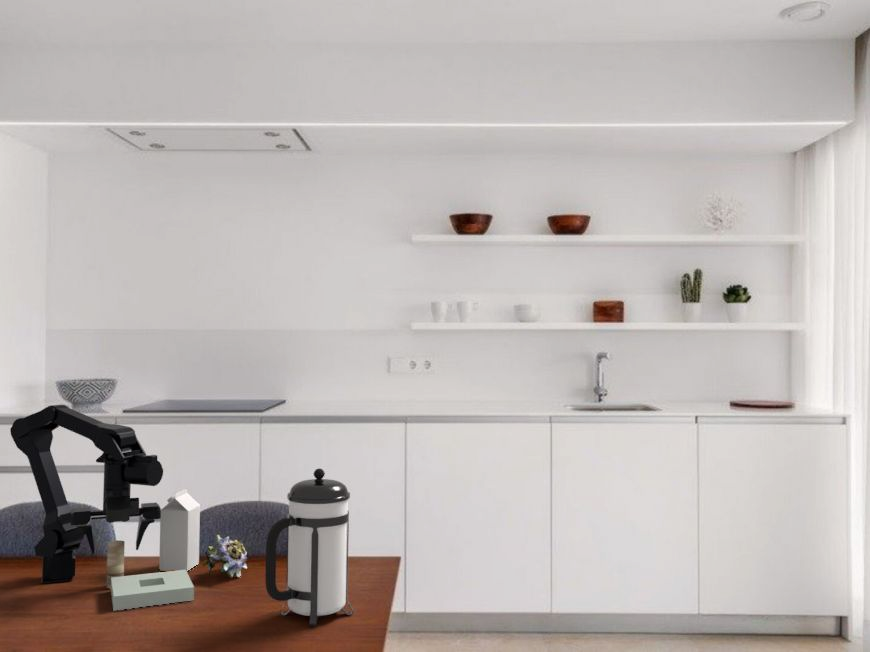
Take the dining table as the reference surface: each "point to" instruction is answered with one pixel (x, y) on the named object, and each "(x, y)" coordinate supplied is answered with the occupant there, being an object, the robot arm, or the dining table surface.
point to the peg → (115, 560)
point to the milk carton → (179, 533)
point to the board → (151, 589)
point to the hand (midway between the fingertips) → (115, 551)
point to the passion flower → (227, 556)
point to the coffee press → (313, 549)
